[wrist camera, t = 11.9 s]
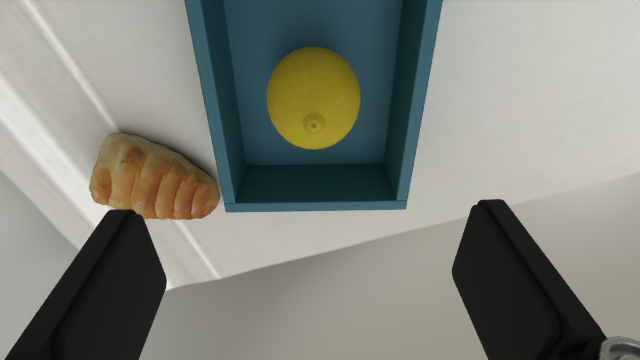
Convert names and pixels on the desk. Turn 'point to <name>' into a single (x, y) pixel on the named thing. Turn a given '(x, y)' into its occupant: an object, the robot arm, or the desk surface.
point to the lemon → (313, 97)
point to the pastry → (151, 180)
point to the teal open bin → (374, 112)
